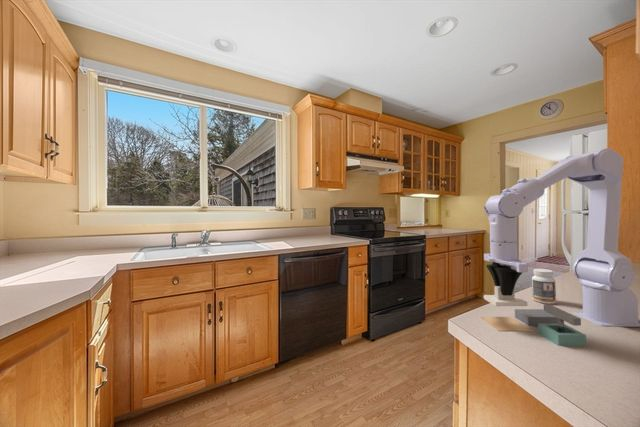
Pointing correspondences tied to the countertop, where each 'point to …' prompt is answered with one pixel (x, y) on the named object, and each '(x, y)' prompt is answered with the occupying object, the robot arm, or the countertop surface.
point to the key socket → (562, 335)
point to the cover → (504, 299)
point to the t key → (562, 317)
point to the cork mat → (505, 324)
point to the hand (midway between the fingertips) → (504, 293)
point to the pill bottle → (543, 286)
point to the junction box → (535, 317)
